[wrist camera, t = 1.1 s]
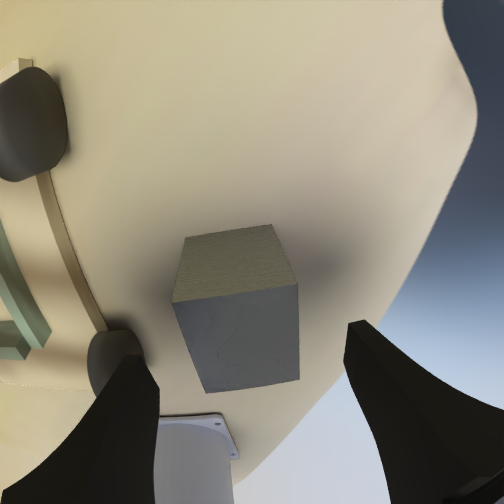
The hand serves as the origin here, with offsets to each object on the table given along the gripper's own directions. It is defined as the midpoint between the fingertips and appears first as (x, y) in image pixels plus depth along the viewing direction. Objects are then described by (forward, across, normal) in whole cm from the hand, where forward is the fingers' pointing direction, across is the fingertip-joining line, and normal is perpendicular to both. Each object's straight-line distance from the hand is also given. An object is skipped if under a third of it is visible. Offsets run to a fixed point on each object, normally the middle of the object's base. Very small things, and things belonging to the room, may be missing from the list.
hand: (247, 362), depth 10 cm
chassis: (+6, +15, -3) cm, 16 cm away
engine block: (+6, 0, 0) cm, 6 cm away
